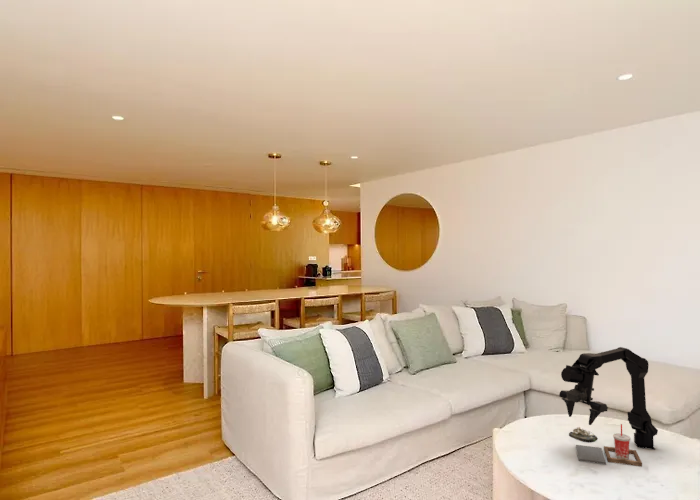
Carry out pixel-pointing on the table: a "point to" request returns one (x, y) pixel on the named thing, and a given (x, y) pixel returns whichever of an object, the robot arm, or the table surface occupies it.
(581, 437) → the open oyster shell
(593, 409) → the robot arm
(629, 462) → the socket collar
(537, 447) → the table surface
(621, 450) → the beverage cup
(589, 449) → the rubber mat
